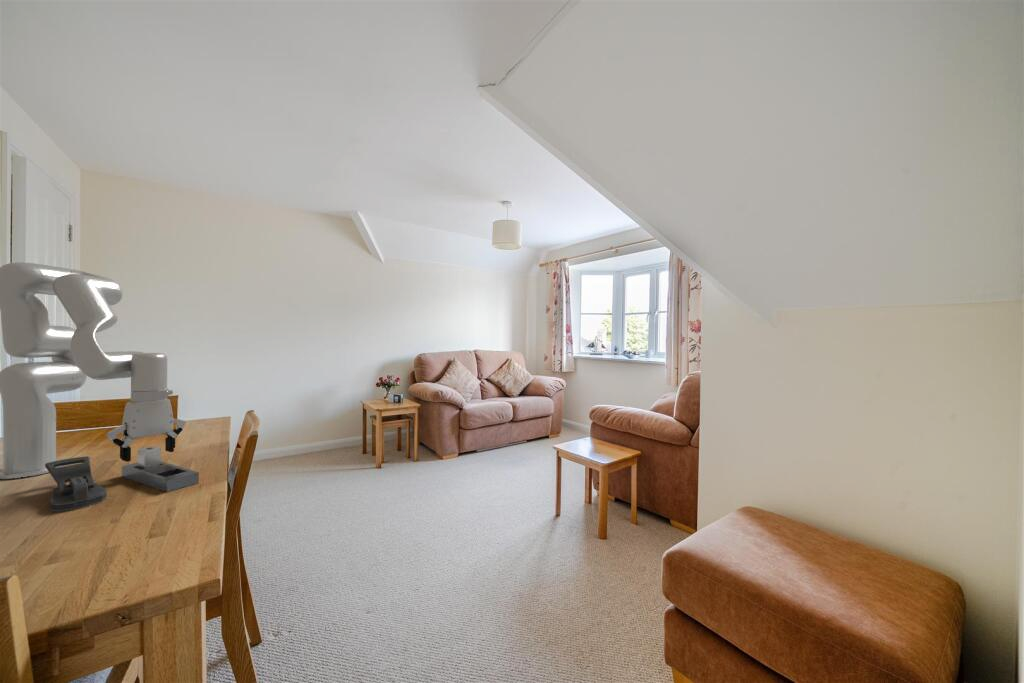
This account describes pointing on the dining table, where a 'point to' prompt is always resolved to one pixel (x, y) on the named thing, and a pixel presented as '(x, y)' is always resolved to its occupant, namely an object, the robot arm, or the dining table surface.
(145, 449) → the grey tall square block
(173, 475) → the rail
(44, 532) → the dining table surface
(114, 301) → the robot arm
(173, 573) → the dining table surface
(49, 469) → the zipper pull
